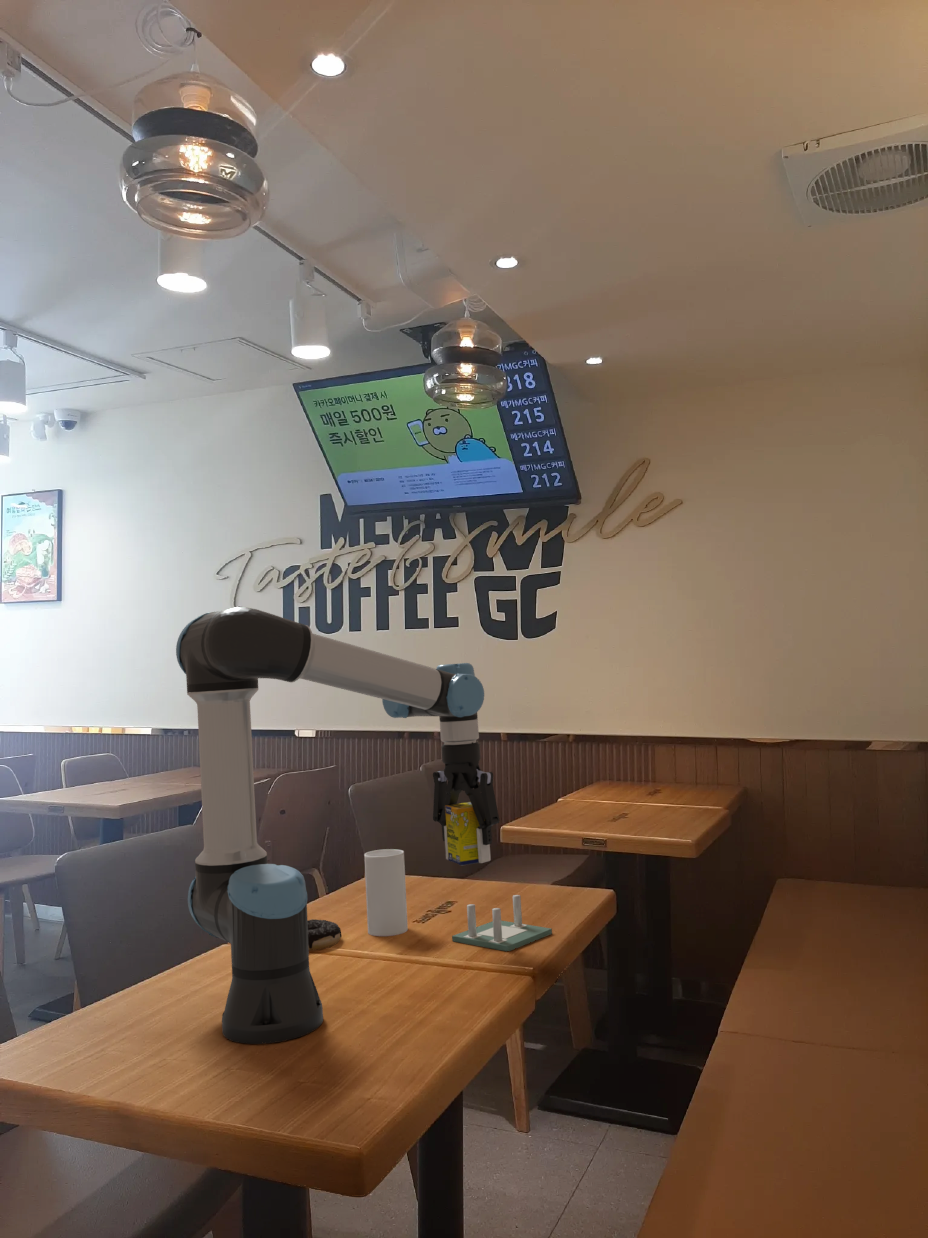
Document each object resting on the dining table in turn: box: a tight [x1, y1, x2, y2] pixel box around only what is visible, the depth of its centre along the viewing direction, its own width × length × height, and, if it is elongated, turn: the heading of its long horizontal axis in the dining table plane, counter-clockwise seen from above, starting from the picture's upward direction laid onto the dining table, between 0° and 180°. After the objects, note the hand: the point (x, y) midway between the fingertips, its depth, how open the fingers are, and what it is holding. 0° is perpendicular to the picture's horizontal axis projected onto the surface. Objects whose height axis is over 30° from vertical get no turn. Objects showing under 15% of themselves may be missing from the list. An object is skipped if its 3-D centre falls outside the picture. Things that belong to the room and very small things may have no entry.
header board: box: [451, 894, 553, 952], centre depth 189 cm, size 14×14×7 cm
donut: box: [307, 919, 343, 952], centre depth 193 cm, size 11×12×4 cm
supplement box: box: [445, 801, 485, 867], centre depth 187 cm, size 6×6×11 cm
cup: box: [363, 848, 409, 937], centre depth 199 cm, size 8×8×16 cm
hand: (468, 859), depth 186 cm, fingers closed on supplement box, 8 cm apart
